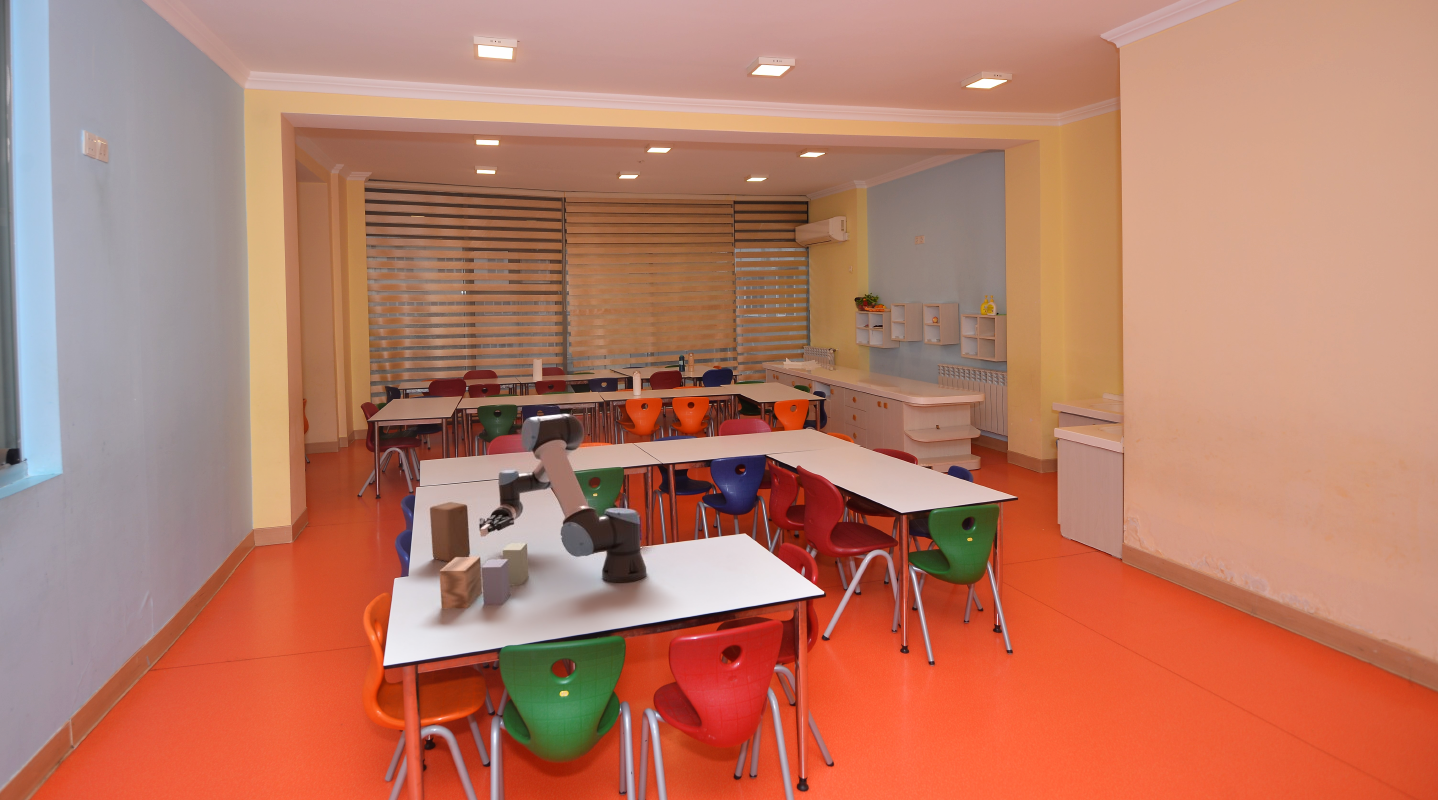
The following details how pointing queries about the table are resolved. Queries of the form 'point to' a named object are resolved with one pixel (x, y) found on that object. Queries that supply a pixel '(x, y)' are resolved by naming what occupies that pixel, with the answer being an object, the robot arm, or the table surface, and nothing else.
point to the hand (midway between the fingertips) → (482, 532)
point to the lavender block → (495, 582)
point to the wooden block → (449, 531)
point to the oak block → (460, 582)
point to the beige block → (517, 562)
